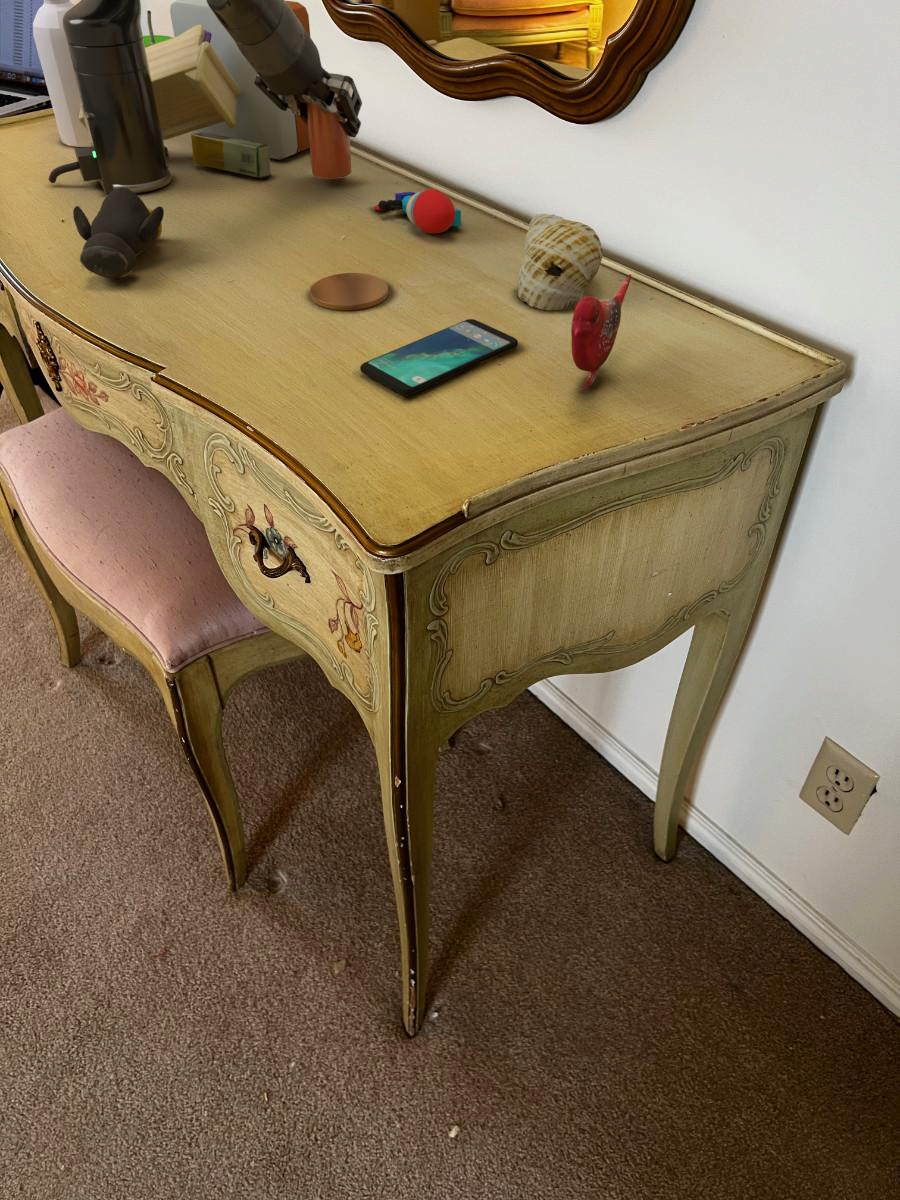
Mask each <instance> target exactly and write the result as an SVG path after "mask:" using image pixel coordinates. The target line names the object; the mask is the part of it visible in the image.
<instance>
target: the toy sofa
mask: <svg viewBox="0 0 900 1200" xmlns="http://www.w3.org/2000/svg"><path fill="white" fill-rule="evenodd" d="M211 36H212V34H211V33H210V32H208V31H206V30H204V29H203V27H202V26H201V25H197V26H194V27H192V28H191V29H189V30H188V31H186V32H184V33H183V34H181V35H179V36H177V37H174V36H173V38H172V39H169V40H166V41H163V42H160V43H157V44H154V45H151V46H148V47H145V50H146V55H147V60H148V65H149V70H150V75H151V80H152V86H153V91H154V96H155V101H156V106H157V111H158V116H159V121H160V126H161V131H162V137H163V141H167V140H169V139H172V138H176V137H179V136H182V135H185V134H188V133H191V132H192V131H195V130H199V129H202V128H205V127H208V126H212V125H215V124H218V123H221V122H226V123H227V125H228V126H229V127H230V128H233V127H235V125H236V109H237V99H238V98H239V97H240V95H241V89H240V88H239V86H238V85H237V83H236V82H235V80H234V79H233V77H232V76H231V74H230V73H229V71H228V70H227V68H226V67H225V65H224V64H223V62H222V61H221V59H220V58H219V56H218V55H217V53H216V52H215V50H214V49H213V48H212V46H211V45H210V41H211ZM81 106H82V102H81ZM79 120H80V122H81V123H82V124H83V126H84V127H85V128H86V124H85V120H84V116H83V112H82V108H80V114H79ZM86 129H87V128H86Z"/></svg>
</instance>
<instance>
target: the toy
mask: <svg viewBox="0 0 900 1200" xmlns="http://www.w3.org/2000/svg"><path fill="white" fill-rule="evenodd" d="M164 214H165V211H164V208H163V206H160V205H159V206H157V207H155V208H154V209H151V208H148V207H147V205H146V204H145V202H144V201H143V200H142V198H141V197H139V195H137V193H134V192H133V191H132V190H130V189H128V188H125V187H119V188H116V189H114V190H113V191H112V192H110V193H107V195H106V196H105V198H104V199H103V201H102V202H101V205H100V209H99V211H98V213H97V214H96V216H95V217H94V218H93V220H92V222H91V224H90V221H89V219H88V217H87V215H86V214H85V213H84V211H83V209H82V208H81V207H80V206H79V205H75V206H74V207H73V210H72V215H73V216H72V217H73V221H74V223H75V227H76V230H77V232H78V234H79V236H80V237H81V238H82V239H83V240H84V241H85V243H84V245H83V247H82V251H81V253H80V257H79V262H80V263H81V264H82V265H83V266H84V268H86V270H87V271H89V272H90V273H93V274H95V275H98V276H99V277H102V278H106V279H117V278H122V277H125V276H127V275H129V274H131V272H132V271H133V269H134V267H135V266H136V264H137V256H139V254H141V253H142V252H144V251H145V250H147V249H148V248H149V247H150V246H152V244H153V243H154V242H155V241H156V240H158V239H160V237H161V236H162V232H163V224H162V223H163V222H162V221H163V219H164Z"/></svg>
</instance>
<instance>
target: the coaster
mask: <svg viewBox="0 0 900 1200" xmlns="http://www.w3.org/2000/svg"><path fill="white" fill-rule="evenodd" d="M388 296H389V286H388V283H387V282H386V281H385V280H384V279H382V278H380V277H378V276H376V275H373V274H369V273H363V272H345V273H344V272H343V273H337V274H332V275H328V276H325V277H322V278H321V279H319V280H317V281H315V282H314V283H313V284H312V285H311V287H310V297H311V300H312V302H314V303H315V304H316V305H318V306H320V307H322V308H326V309H330V310H335V311H358V310H364V309H369V308H372V307H374V306H377V305H379V304H382V302H384V301H385V300H386V299H387V298H388Z"/></svg>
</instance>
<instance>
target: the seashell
mask: <svg viewBox="0 0 900 1200" xmlns="http://www.w3.org/2000/svg"><path fill="white" fill-rule="evenodd" d="M522 249H523V250H522V253H523V261H522V264H521V266H520V270H519V273H518V280H517V289H516V290H517V295H518V298H519V299H520V301H521V302H522V303H523V302H526V303H527V305H528V306H530V307H532V308H534V309H538V310H543V311H561V310H568V309H571V308H572V307H576V306H577V304H578V302H579V301H580V300H581V299H582V298H583V294H584V292H585V291H586V290H587V288H588V286H589V284H590V283H591V281H592V280H593V279H594V278H595V277H596V275H597V273H598V272H599V269H600V265H601V263H602V261H603V250H604V249H603V247H602V242H601V240H600V237H599V236H598V234H597V232H596V231H595V230H594V228H592V227H591V226H589V225H587V224H585V223H583V222H580V221H574V220H570V219H565V218H564V217H562V216H559V215H555V214H554V213H553V214H548V213H539V214H538V213H537V214H535V215H534V216H533V217H532V219H531V221H530V222H529V224H528V228H527V233H526V235H525V237H524V242H523V245H522Z"/></svg>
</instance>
